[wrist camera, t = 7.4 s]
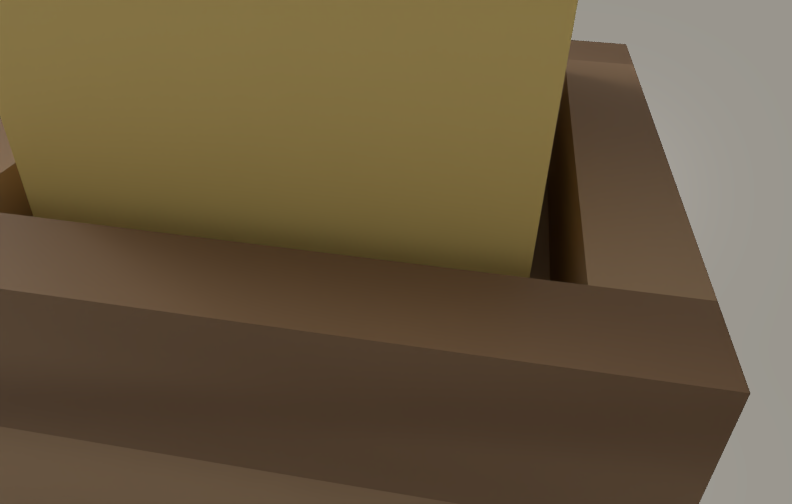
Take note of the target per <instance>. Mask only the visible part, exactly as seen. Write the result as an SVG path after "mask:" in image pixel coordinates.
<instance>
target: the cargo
mask: <svg viewBox="0 0 792 504" xmlns="http://www.w3.org/2000/svg"><path fill="white" fill-rule="evenodd" d="M577 3H578V0H0V117H1V120H2V123H3V126H4V129H5V132H6V135H7V138H8V141H9V144H10V147H11V150H12V153H13V156H14V159H15V162H16V165H17V168H18V171H19V174H20V177H21V180H22V183H23V186H24V189H25V192H26V195H27V199H28V202H29V205H30V208H31V211H32V214H33V217H40V218H48V219H56V220H64V221H72V222H80V223H88V224H96V225H105V226H113V227H121V228H129V229H137V230H145V231H153V232H161V233H169V234H178V235H186V236H194V237H202V238H210V239H218V240H226V241H234V242H242V243H250V244H259V245H267V246H275V247H283V248H291V249H299V250H307V251H315V252H323V253H332V254H340V255H348V256H356V257H364V258H372V259H380V260H388V261H396V262H405V263H413V264H421V265H429V266H437V267H445V268H453V269H461V270H469V271H477V272H486V273H494V274H502V275H510V276H518V277H526V278H530V272H531V266H532V260H533V255H534V249H535V243H536V237H537V232H538V226H539V220H540V215H541V209H542V203H543V197H544V192H545V186H546V180H547V174H548V169H549V163H550V157H551V152H552V146H553V140H554V134H555V129H556V123H557V117H558V111H559V106H560V100H561V94H562V89H563V83H564V77H565V71H566V66H567V60H568V54H569V49H570V43H571V37H572V31H573V25H574V20H575V14H576V8H577Z"/></svg>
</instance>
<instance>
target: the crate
mask: <svg viewBox="0 0 792 504" xmlns="http://www.w3.org/2000/svg"><path fill="white" fill-rule="evenodd" d="M749 395H750V391H749V388H748V385H747V383H746V380H745V377H744V375H743V371H742V369H741V366H740V363H739V360H738V357H737V355H736V352H735V349H734V346H733V344H732V341H731V338H730V335H729V332H728V329H727V327H726V324H725V321H724V318H723V315H722V312H721V310H720V307H719V304H718V301H717V299H716V296H715V293H714V290H713V287H712V284H711V282H710V279H709V276H708V273H707V270H706V268H705V265H704V262H703V259H702V256H701V254H700V251H699V248H698V245H697V242H696V240H695V237H694V234H693V231H692V228H691V225H690V223H689V220H688V217H687V214H686V212H685V209H684V206H683V203H682V200H681V197H680V195H679V192H678V189H677V186H676V184H675V181H674V178H673V175H672V172H671V169H670V167H669V164H668V161H667V158H666V155H665V152H664V150H663V147H662V144H661V141H660V138H659V136H658V133H657V130H656V128H655V124H654V122H653V119H652V116H651V113H650V110H649V108H648V105H647V102H646V99H645V96H644V94H643V91H642V88H641V85H640V82H639V80H638V77H637V74H636V71H635V68H634V65H633V63H632V60H631V57H630V54H629V52H628V49H627V46H626V44H615V43H601V42H589V41H575V40H571V43H570V49H569V54H568V60H567V66H566V71H565V77H564V83H563V89H562V94H561V100H560V106H559V111H558V117H557V123H556V129H555V134H554V140H553V146H552V152H551V157H550V163H549V169H548V174H547V180H546V186H545V192H544V197H543V203H542V209H541V215H540V220H539V226H538V232H537V237H536V243H535V249H534V255H533V260H532V266H531V272H530V278H526V277H518V276H510V275H502V274H494V273H486V272H477V271H469V270H461V269H453V268H445V267H437V266H429V265H421V264H413V263H405V262H396V261H388V260H380V259H372V258H364V257H356V256H348V255H340V254H332V253H323V252H315V251H307V250H299V249H291V248H283V247H275V246H267V245H259V244H250V243H242V242H234V241H226V240H218V239H210V238H202V237H194V236H186V235H178V234H169V233H161V232H153V231H145V230H137V229H129V228H121V227H113V226H105V225H96V224H88V223H80V222H72V221H64V220H56V219H48V218H40V217H33V214H32V211H31V208H30V205H29V202H28V199H27V195H26V192H25V189H24V186H23V183H22V180H21V177H20V174H19V171H18V168H17V165H16V162H15V159H14V156H13V153H12V150H11V147H10V144H9V141H8V138H7V135H6V132H5V129H4V126H3V123H2V120H1V117H0V504H699V502H700V500H701V498H702V495H703V494H704V491H705V489H706V487H707V485H708V483H709V481H710V479H711V476H712V474H713V472H714V470H715V468H716V466H717V463H718V461H719V459H720V457H721V455H722V453H723V451H724V448H725V446H726V444H727V442H728V440H729V438H730V436H731V433H732V431H733V429H734V427H735V425H736V423H737V421H738V418H739V416H740V414H741V412H742V410H743V408H744V406H745V404H746V401H747V399H748V397H749Z"/></svg>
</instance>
